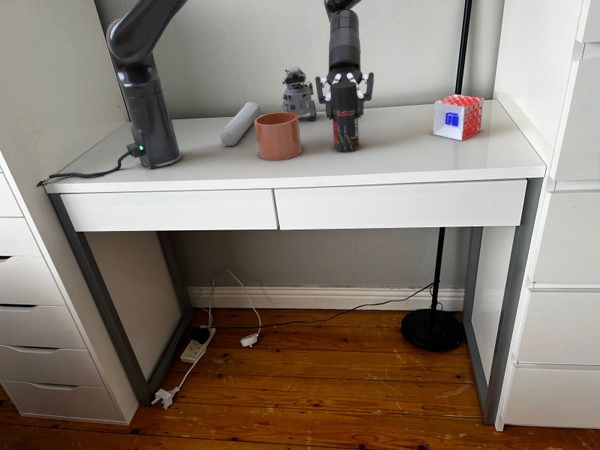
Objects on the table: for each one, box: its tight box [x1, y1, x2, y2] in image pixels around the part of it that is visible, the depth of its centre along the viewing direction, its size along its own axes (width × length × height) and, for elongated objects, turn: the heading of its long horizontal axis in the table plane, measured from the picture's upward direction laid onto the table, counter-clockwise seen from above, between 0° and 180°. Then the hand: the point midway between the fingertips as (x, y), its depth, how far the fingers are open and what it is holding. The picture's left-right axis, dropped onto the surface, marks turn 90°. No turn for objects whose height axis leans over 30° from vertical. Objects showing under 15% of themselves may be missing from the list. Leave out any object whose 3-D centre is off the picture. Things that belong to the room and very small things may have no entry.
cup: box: [253, 111, 302, 161], centre depth 108 cm, size 10×10×8 cm
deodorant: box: [329, 81, 360, 153], centre depth 104 cm, size 6×6×15 cm
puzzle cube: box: [432, 93, 485, 141], centre depth 107 cm, size 8×8×8 cm
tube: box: [219, 101, 261, 147], centre depth 126 cm, size 5×5×25 cm
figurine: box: [280, 66, 318, 122], centre depth 126 cm, size 9×12×15 cm
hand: (344, 117), depth 102 cm, fingers closed on deodorant, 6 cm apart
